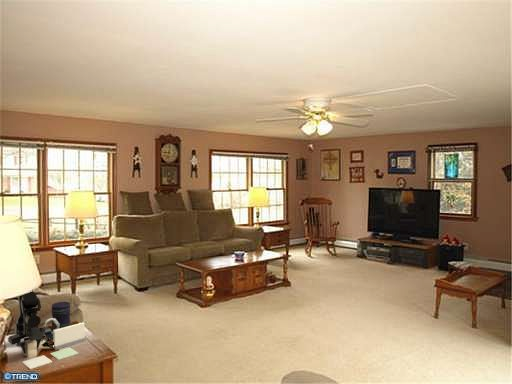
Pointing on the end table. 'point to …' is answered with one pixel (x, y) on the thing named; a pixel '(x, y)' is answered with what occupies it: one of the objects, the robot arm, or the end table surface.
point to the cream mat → (37, 362)
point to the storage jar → (61, 314)
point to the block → (30, 348)
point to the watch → (55, 324)
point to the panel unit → (69, 335)
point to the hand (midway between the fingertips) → (30, 351)
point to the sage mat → (64, 353)
